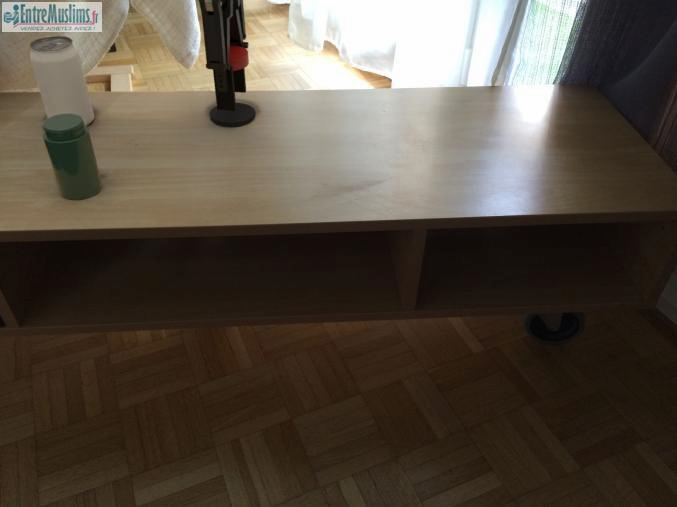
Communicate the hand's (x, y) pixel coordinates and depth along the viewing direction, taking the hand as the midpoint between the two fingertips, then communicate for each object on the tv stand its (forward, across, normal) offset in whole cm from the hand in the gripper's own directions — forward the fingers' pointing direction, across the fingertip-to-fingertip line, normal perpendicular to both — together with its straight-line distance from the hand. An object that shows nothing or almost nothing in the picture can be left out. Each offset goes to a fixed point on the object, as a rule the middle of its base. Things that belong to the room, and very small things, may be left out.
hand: (232, 99), depth 93 cm
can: (+3, -6, +23) cm, 24 cm away
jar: (+3, -23, +14) cm, 27 cm away
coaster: (+3, 0, 0) cm, 3 cm away
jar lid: (-7, 0, 0) cm, 7 cm away
